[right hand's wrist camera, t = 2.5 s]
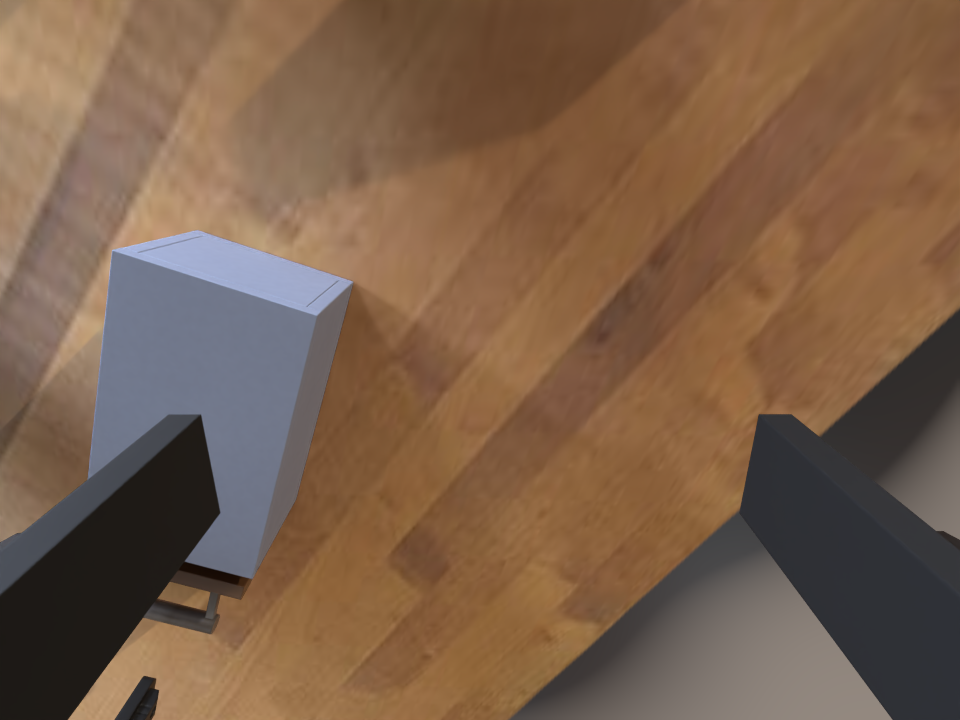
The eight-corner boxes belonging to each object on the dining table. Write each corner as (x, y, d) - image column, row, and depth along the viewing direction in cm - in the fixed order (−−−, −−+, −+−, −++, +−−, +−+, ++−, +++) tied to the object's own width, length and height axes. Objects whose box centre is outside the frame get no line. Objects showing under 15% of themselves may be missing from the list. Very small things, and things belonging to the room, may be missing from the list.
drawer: (263, 587, 46) (226, 660, 39) (147, 557, 45) (88, 626, 38) (328, 336, 38) (295, 372, 32) (189, 292, 37) (125, 320, 31)
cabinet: (296, 499, 44) (252, 579, 36) (160, 461, 43) (81, 534, 34) (353, 281, 38) (317, 315, 29) (196, 229, 37) (111, 249, 28)
